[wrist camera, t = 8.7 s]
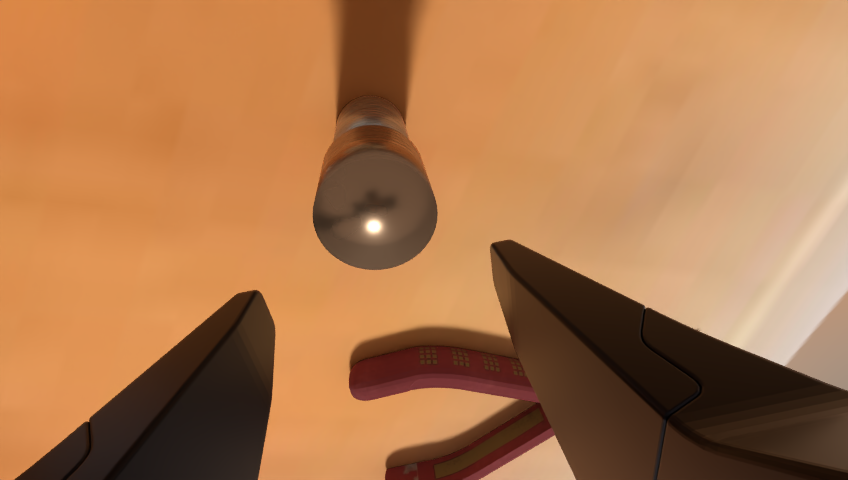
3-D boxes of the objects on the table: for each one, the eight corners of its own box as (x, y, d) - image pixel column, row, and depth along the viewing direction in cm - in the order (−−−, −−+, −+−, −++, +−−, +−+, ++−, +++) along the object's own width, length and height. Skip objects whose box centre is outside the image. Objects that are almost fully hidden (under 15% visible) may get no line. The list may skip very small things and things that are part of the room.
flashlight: (415, 159, 20) (444, 257, 13) (342, 174, 19) (331, 279, 13) (402, 83, 18) (427, 147, 11) (321, 98, 18) (296, 172, 11)
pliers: (675, 412, 31) (699, 446, 29) (387, 474, 31) (389, 513, 29) (696, 277, 25) (729, 305, 23) (344, 351, 25) (342, 387, 23)
